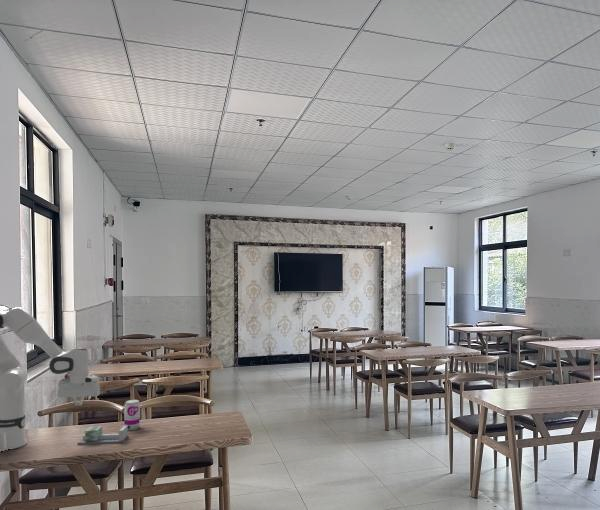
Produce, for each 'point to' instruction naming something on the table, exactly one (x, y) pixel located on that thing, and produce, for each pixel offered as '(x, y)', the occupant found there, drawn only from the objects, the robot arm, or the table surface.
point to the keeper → (93, 433)
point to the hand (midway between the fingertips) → (78, 405)
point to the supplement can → (132, 414)
